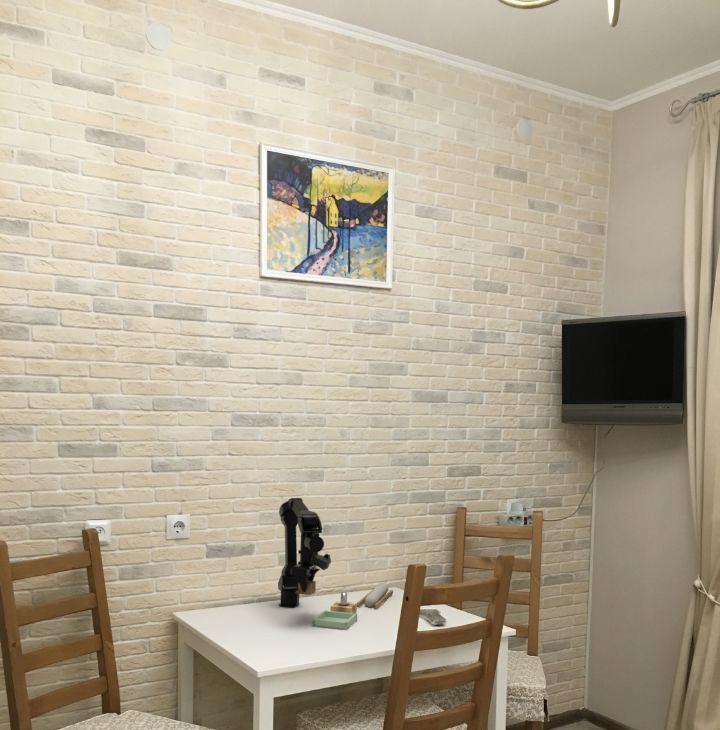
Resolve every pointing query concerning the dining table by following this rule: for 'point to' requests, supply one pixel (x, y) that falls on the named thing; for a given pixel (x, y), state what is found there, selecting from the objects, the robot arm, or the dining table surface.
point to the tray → (334, 620)
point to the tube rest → (378, 601)
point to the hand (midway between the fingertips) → (306, 590)
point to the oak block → (344, 607)
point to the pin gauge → (343, 599)
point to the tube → (376, 594)
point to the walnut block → (308, 588)
